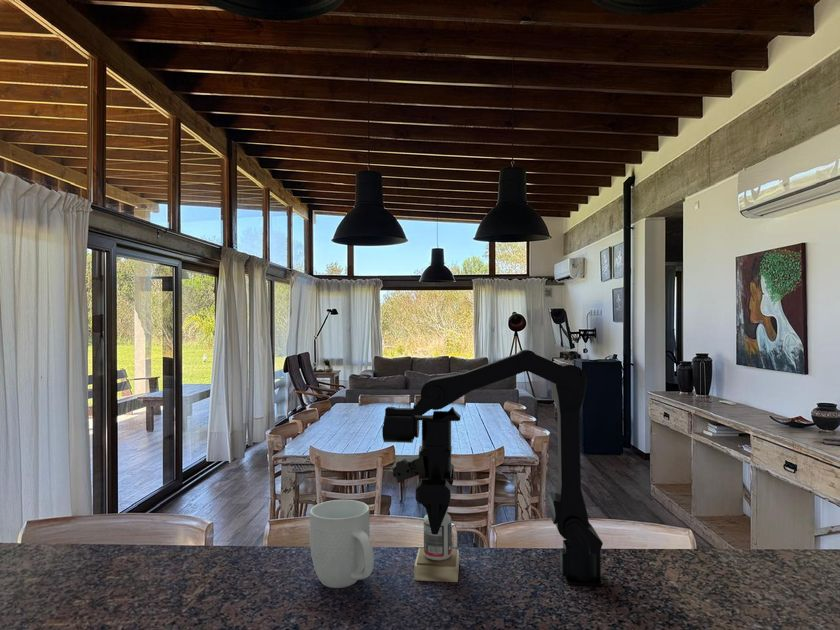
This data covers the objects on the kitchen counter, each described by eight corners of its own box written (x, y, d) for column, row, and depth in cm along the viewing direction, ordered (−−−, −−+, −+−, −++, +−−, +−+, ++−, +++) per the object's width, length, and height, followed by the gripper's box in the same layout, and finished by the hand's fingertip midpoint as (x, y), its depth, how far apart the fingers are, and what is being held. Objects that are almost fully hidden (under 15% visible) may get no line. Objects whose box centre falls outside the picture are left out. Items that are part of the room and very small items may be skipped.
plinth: (458, 563, 102) (458, 547, 102) (457, 582, 94) (457, 565, 94) (418, 561, 102) (418, 546, 103) (414, 580, 95) (414, 563, 95)
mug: (395, 587, 92) (395, 513, 92) (344, 610, 84) (345, 529, 85) (346, 561, 102) (346, 495, 103) (297, 579, 95) (298, 508, 95)
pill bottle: (438, 547, 102) (438, 497, 102) (457, 556, 98) (457, 504, 98) (417, 554, 99) (417, 503, 99) (436, 564, 94) (436, 510, 95)
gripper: (402, 433, 109) (401, 507, 109) (387, 453, 91) (387, 542, 90) (454, 434, 108) (454, 509, 107) (450, 454, 90) (450, 545, 89)
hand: (436, 525), depth 98 cm, fingers open, 9 cm apart
